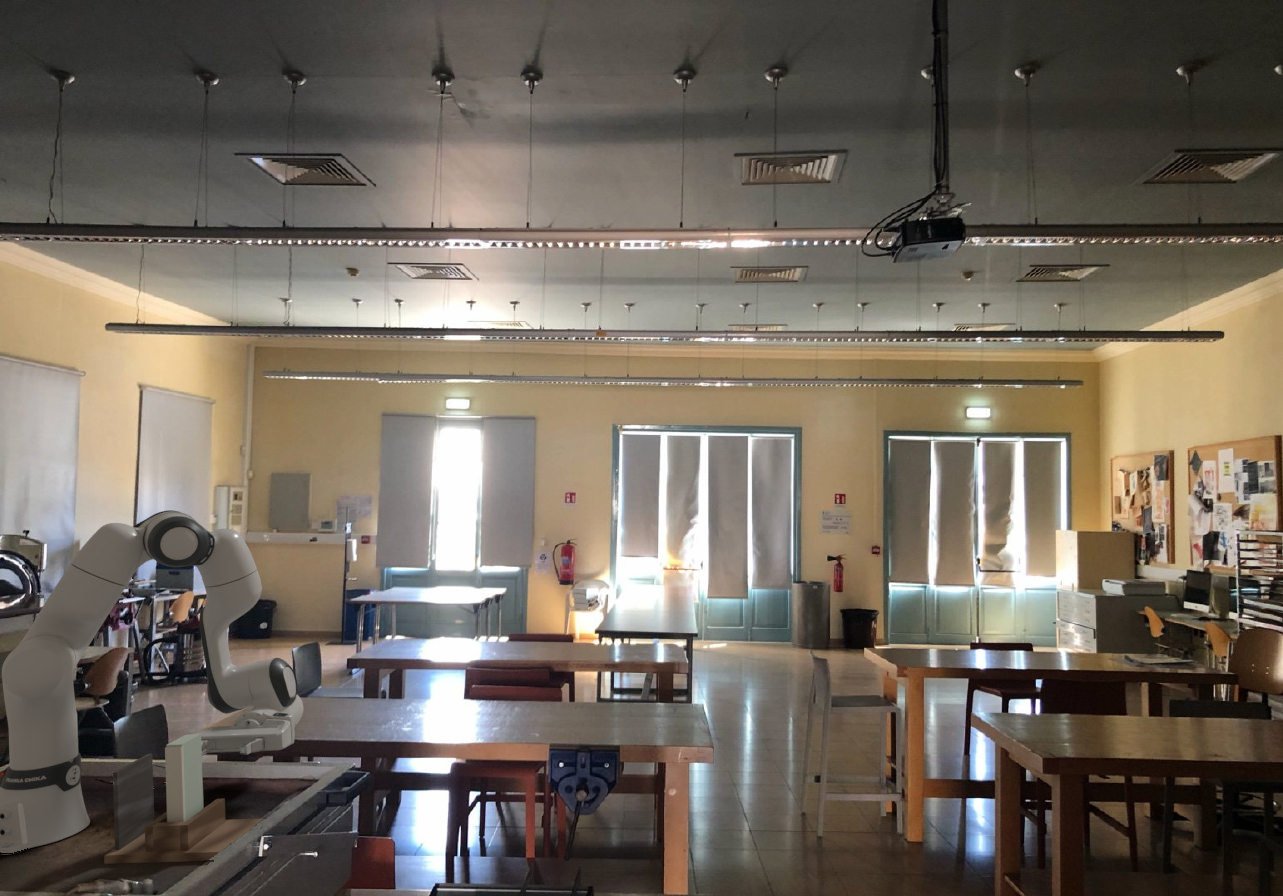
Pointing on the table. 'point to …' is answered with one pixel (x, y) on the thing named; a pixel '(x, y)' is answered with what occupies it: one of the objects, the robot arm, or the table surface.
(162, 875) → the table surface
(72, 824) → the robot arm
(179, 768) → the pale green flat block
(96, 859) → the table surface
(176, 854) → the stand
